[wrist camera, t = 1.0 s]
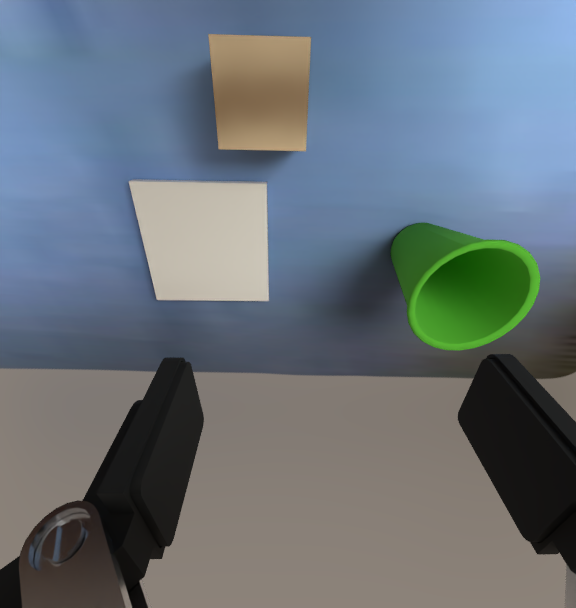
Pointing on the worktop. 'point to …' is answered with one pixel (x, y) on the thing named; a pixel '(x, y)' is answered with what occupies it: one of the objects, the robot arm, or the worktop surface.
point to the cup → (462, 285)
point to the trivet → (204, 238)
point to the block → (260, 91)
